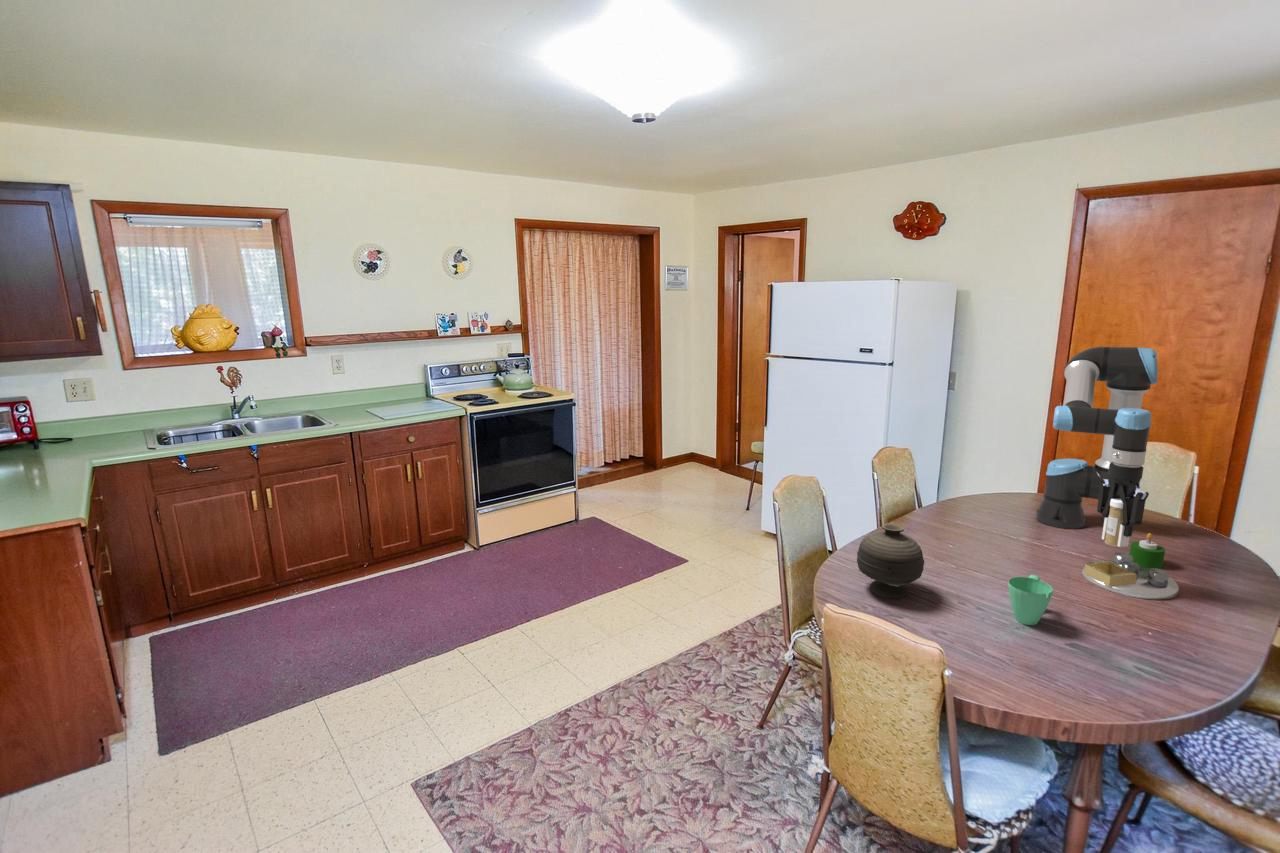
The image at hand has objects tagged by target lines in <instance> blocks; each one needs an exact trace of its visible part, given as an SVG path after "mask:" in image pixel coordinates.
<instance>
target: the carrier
mask: <svg viewBox="0 0 1280 853" xmlns="http://www.w3.org/2000/svg"><path fill="white" fill-rule="evenodd" d="M1132 561H1133V556H1132V555H1130V554H1129V553H1126V552H1122V551H1121V552H1117V551H1116V552H1114V556H1113V561H1112V560H1094V561H1090V562H1086V563H1085V564H1084V565H1083V567H1082V570H1081V571H1082V576H1083V577H1084V579H1086V581H1088V582H1090V583H1091V584H1092V585H1095V587H1096V586H1097V587H1099V588H1101V589H1103V590H1106V591H1109V592H1112V593H1114V594H1118V595H1121V596H1126V597H1129V598H1130V597H1131V598H1136V599H1143V600H1151V601H1152V600H1153V601H1156V600H1157V601H1158V600H1159V601H1160V600H1161V601H1162V600H1164V599H1165V600H1169V599H1173V598H1175V597H1176V596H1178V594H1179V584H1178V583H1177V582H1176V581H1175V580H1174V579H1172V578H1171V577H1170V572H1169V571H1167V570H1166V569H1165V570H1164V569H1163V568H1160V569H1157V568H1151V569H1149V568H1145V567H1141V566H1140V565H1139V564H1137V563H1134V562H1132Z"/></svg>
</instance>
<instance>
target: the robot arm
mask: <svg viewBox="0 0 1280 853" xmlns="http://www.w3.org/2000/svg"><path fill="white" fill-rule="evenodd" d="M1064 368H1065V369H1064V372H1063V373H1064V374H1063V375H1064V376H1063V377H1064V378H1065V380H1066V384H1065V390H1064V398H1063V404H1062V405H1057V406H1056V407H1054V413H1053V414H1054V415H1053V422H1052V428H1053V429H1055V430H1057V431H1063V432H1064V431H1065V432H1068V433H1069V432H1071V433H1072V432H1073V433H1085V434H1097V435H1104V437H1103V444H1102V452H1101V457H1100V458H1098V459H1096V460H1095V462H1094V465H1088V464H1089V463H1088V462H1087V461H1086V460H1084V459H1079V458H1058V459H1053V460H1051V461H1050V462H1049V463H1048V464H1047V470H1046V472H1045V476H1046V478H1045V483H1044V490H1043V498H1042V501H1041V502H1040V504H1039V507H1038V509H1036V512H1035V516H1034V517H1035V520H1037V522H1039V523H1041V524H1044V525H1047V526H1050V527H1054V528H1055V527H1056V528H1059V529H1070V530H1071V529H1074V530H1075V529H1082V528H1084V527H1085V525H1086V517H1085V513H1084V509H1083V504H1082V503H1083V498H1085V499H1091V500H1092V499H1093V500H1098V501H1097V509H1096V512H1097V513H1100V514H1101V516H1102V521H1101V522H1102V523H1101V526H1102V527H1103V528H1102V533H1101V540H1104V541H1105V540H1106V534H1107V532H1106V531H1107V524H1108V517H1109V512H1110V501H1111V499H1115V498H1121V501H1122V503H1123V521H1124V523H1121V525H1120V531H1119V538H1118V544H1117V546H1119V547H1118V548H1125V547H1129V542H1130V537H1132V536H1133V531H1134V527H1135V526H1141V525H1142V523H1143V518H1144V517H1143V516H1144V511H1145V506H1146V500H1147V498H1148V497H1149V492H1148V491H1143V490H1142V489H1141V487H1140V485H1141V480H1142V478H1143V474H1144V467H1143V466H1144V465H1145V460H1146V454H1147V446H1148V440H1149V434H1150V429H1151V426H1152V412H1151V411H1150V410H1146V409H1144V408H1142V403H1143V398H1144V394H1145V393H1146V392H1148V391H1150V390H1151V387H1152V386H1151V385H1156V384H1157V383H1158V377H1159V376H1158V375H1159V373H1158V371H1159V369H1158V368H1159V367H1158V355H1157V351H1156V350H1155V349H1153V348H1151V347H1149V348H1147V347H1138V346H1093V347H1090V348H1087V349H1084V350H1082V351H1080V352H1077V354H1075V355H1073V357H1071V358H1070V360H1068V362H1067V363H1066V365H1065V367H1064ZM1096 382H1106V384H1105V385H1106V386H1105V387H1106V388H1107V389H1108V390H1109V391H1110V395H1109V396H1110V398H1109V405H1108V408H1101V407H1100V408H1099V407H1094V396H1095V386H1096Z"/></svg>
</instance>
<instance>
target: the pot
mask: <svg viewBox="0 0 1280 853" xmlns="http://www.w3.org/2000/svg"><path fill="white" fill-rule="evenodd" d="M881 529H883V530H878V531H874V532H870V534H867V535H866V536H865V537H864V538H863V539H862V540H860V544H859V546H858V550H857V553H856V556H857V557H856V563H857V568H858V570H859V571H860V572H861V573H862V574H863V575H865V576H866V577H867V578H869V579H871V580H873V581H872V582H871V583H870V585H869V590H870V591H871V593H872V594H873V595H876V596H878V597H882V598H884V599H885V598H886V599H891V600H892V599H896V600H897V599H902V598H904V597H907V595H908V589H907V588H906V586H904V585H908V584H911V583H913V582H916V580H919V579H920V578H921V577H922V574H923V572H924V565H925V559H924V554H923V550H922V548H921V546H920V545H919V544H918V542H917V541H916V540H914V539H913V537H911V536H909V535H907V534H905V533H902V532H904V531H905V527H903V526H902V525H898V524H896V523H889V522H888V523H885V524H882V525H881Z"/></svg>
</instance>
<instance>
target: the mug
mask: <svg viewBox="0 0 1280 853" xmlns="http://www.w3.org/2000/svg"><path fill="white" fill-rule="evenodd" d="M1007 583H1008V584H1007V585H1008V586H1007V587H1008V596H1009V601H1010V605H1011V610H1012V612H1013V616H1014V619H1015V621H1017V623H1020V624H1023V625H1025V626H1026V625H1027V626H1036V625H1037V624H1038V623H1039V621H1040V620H1041V618H1042V617H1043V616H1044V614H1045V612H1046V610H1047V608H1048V606H1049V604H1050V602H1051V600H1052V596H1053V593H1054V589H1053V587H1052V586H1051V585H1050V584H1049V583H1047V582H1045V581H1043V580H1041V578H1040V577H1039V576H1038V575H1034V574H1030V575H1029V576H1013V577H1011V578H1009V579H1008V580H1007Z"/></svg>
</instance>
